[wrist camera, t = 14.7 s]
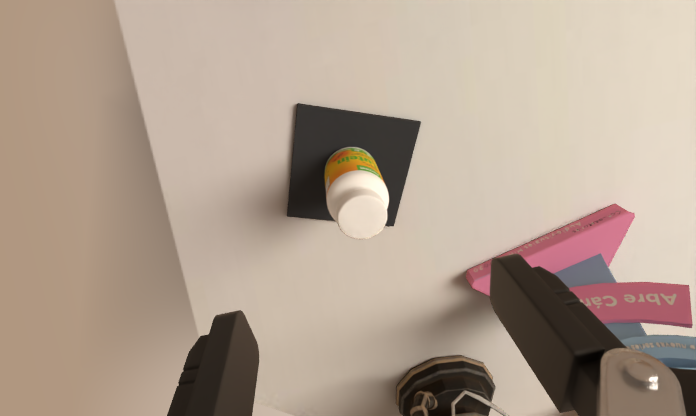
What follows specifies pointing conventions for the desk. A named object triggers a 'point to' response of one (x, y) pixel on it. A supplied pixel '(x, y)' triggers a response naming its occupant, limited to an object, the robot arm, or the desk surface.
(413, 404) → the lantern
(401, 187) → the mat
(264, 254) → the desk surface
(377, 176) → the supplement bottle
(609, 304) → the trophy
